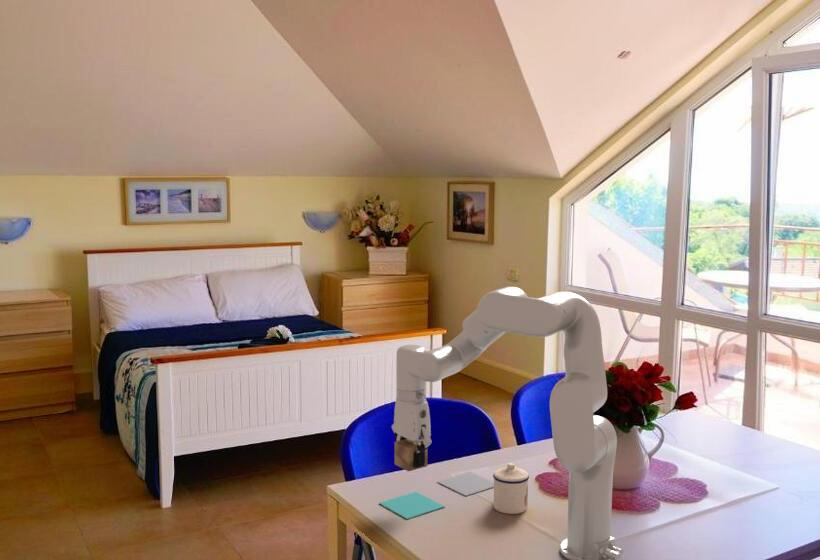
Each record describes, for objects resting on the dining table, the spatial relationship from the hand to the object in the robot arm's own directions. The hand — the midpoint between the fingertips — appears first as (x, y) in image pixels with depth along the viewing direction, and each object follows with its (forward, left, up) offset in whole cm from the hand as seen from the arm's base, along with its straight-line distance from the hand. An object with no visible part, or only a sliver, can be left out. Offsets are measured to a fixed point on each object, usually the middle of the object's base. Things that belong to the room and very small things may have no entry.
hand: (411, 462), depth 213 cm
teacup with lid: (-15, -20, -12) cm, 28 cm away
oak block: (0, 0, -1) cm, 1 cm away
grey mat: (+2, -21, -12) cm, 24 cm away
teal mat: (0, 0, -12) cm, 12 cm away
